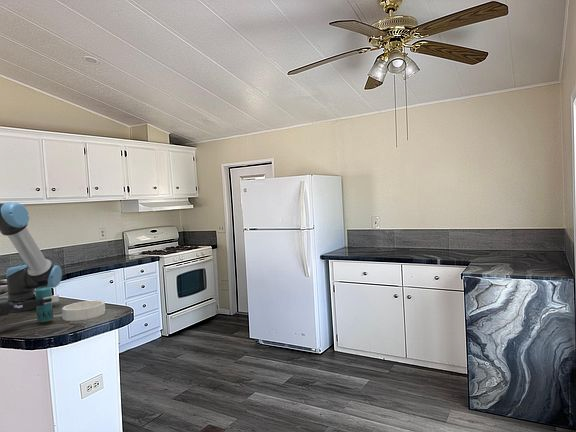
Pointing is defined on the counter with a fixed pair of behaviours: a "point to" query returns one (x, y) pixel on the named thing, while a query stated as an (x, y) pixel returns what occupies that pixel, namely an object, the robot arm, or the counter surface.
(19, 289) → the robot arm
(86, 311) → the bowl
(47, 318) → the beverage bottle
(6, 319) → the counter surface
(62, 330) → the counter surface
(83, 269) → the counter surface
